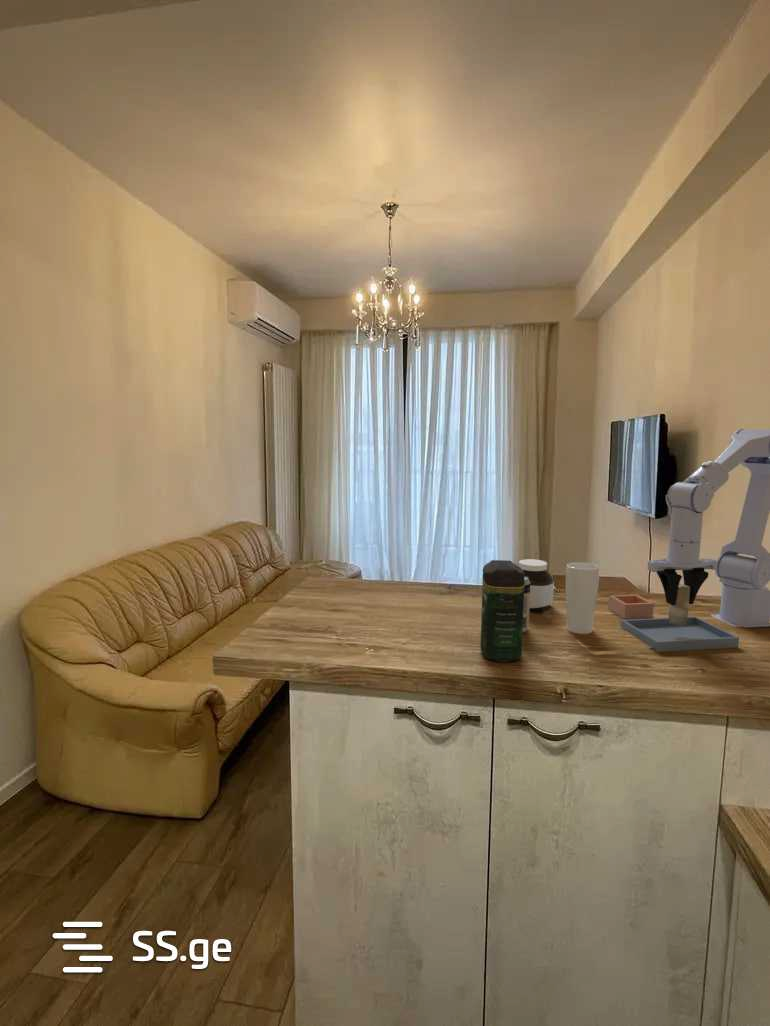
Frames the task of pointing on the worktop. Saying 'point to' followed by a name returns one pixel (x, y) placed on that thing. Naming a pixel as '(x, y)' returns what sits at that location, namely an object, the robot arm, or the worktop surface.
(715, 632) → the slate tray
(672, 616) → the ash peg
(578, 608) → the drinking glass
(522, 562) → the spread jar
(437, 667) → the worktop surface
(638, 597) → the salmon open box
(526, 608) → the beer can
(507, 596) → the coffee jar
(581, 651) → the worktop surface
